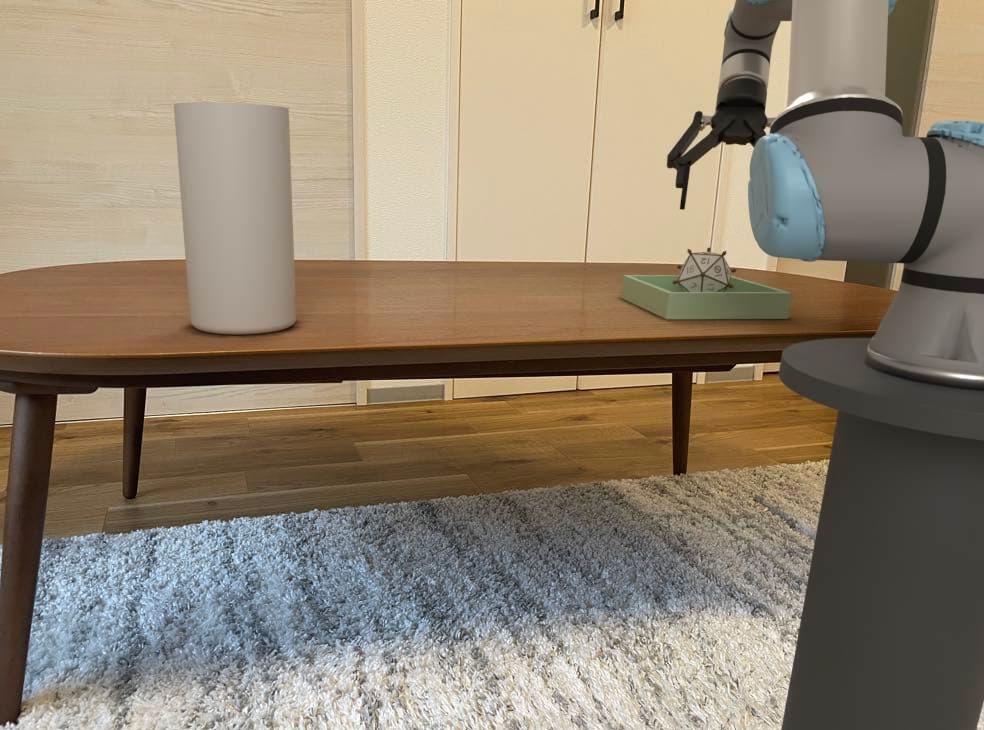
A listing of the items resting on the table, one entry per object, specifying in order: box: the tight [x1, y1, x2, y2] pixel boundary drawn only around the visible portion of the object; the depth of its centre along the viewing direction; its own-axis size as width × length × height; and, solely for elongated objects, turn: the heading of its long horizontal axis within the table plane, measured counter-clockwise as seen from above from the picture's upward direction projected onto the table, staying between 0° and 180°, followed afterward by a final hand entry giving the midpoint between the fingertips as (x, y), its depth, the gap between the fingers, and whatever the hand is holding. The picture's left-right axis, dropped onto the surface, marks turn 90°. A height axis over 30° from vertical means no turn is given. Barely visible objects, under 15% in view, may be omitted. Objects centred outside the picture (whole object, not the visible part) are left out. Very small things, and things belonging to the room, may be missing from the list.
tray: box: [621, 274, 793, 320], centre depth 113 cm, size 18×18×4 cm
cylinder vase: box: [173, 101, 297, 336], centre depth 91 cm, size 12×12×25 cm
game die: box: [672, 246, 738, 292], centre depth 113 cm, size 9×8×10 cm
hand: (728, 207), depth 119 cm, fingers open, 13 cm apart
